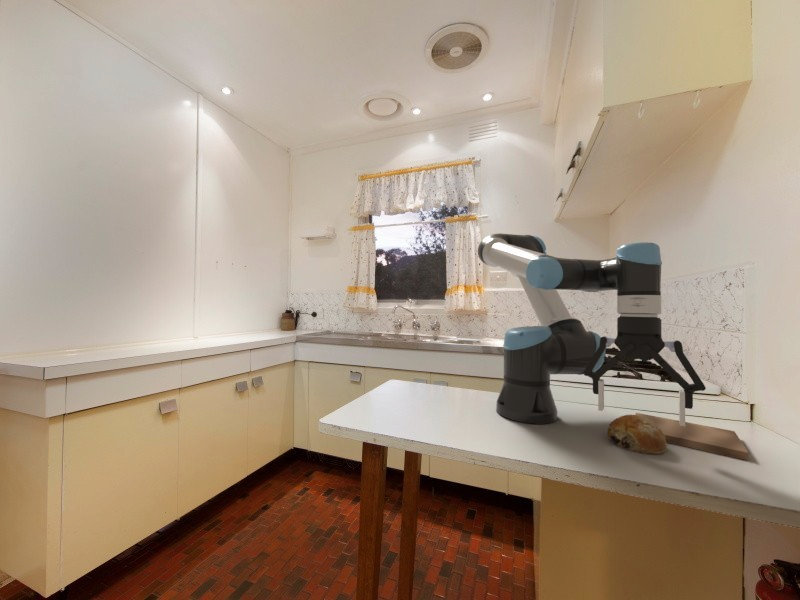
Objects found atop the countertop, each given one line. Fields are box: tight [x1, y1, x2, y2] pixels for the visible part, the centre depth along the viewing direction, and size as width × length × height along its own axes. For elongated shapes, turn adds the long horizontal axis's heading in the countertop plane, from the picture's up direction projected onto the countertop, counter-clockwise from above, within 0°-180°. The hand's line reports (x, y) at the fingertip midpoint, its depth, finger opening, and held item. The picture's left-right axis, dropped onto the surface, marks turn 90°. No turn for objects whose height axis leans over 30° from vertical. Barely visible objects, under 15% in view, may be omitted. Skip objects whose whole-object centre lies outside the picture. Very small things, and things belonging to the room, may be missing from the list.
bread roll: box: [606, 414, 668, 455], centre depth 67 cm, size 10×10×8 cm
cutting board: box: [634, 412, 749, 461], centre depth 72 cm, size 18×14×2 cm
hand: (639, 416), depth 66 cm, fingers open, 13 cm apart
